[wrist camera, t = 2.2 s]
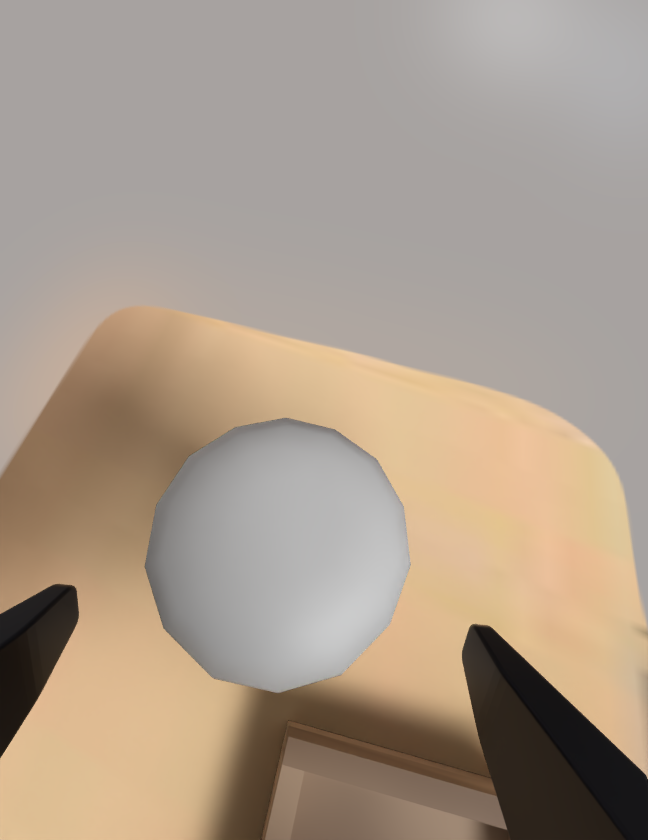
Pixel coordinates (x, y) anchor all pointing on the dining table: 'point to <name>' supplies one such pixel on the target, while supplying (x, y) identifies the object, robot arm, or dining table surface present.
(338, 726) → the dining table surface
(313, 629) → the salt shaker
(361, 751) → the walnut socket
